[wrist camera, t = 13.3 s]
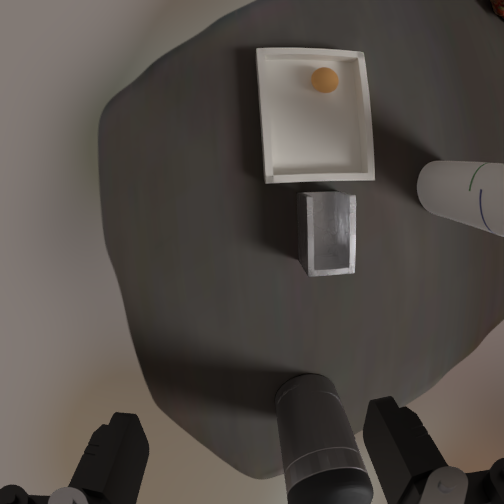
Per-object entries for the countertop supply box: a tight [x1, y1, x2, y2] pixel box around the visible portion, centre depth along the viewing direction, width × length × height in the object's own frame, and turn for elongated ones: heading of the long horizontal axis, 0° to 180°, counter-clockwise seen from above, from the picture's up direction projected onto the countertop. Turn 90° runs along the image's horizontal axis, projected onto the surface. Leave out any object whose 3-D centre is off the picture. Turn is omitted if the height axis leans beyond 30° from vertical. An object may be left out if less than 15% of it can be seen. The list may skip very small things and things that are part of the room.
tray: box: [255, 48, 375, 184], centre depth 31 cm, size 15×12×3 cm
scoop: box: [296, 191, 356, 277], centre depth 33 cm, size 8×5×6 cm, turn 3°
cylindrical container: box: [417, 161, 504, 237], centre depth 23 cm, size 7×7×25 cm
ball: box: [311, 67, 339, 93], centre depth 30 cm, size 3×3×3 cm
